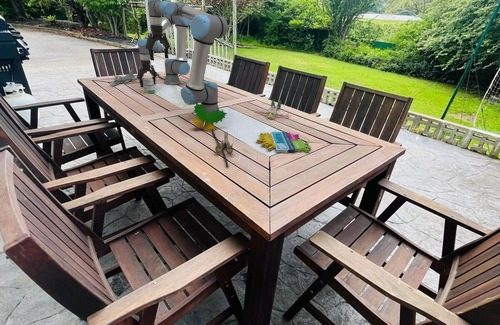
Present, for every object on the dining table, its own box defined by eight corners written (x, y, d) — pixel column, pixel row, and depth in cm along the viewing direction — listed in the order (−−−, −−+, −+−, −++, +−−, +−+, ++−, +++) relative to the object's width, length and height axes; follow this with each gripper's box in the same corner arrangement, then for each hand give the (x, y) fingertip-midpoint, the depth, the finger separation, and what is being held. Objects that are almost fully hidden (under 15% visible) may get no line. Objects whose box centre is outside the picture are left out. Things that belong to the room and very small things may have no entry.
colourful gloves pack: (313, 150, 142) (258, 149, 139) (312, 153, 143) (258, 152, 140) (301, 132, 164) (254, 130, 161) (301, 134, 165) (254, 133, 162)
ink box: (155, 92, 228) (153, 78, 222) (151, 93, 224) (149, 79, 218) (148, 91, 231) (146, 77, 226) (143, 92, 228) (141, 78, 222)
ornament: (218, 133, 171) (224, 110, 169) (221, 134, 163) (227, 111, 161) (186, 125, 162) (192, 101, 160) (189, 126, 155) (195, 101, 153)
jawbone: (234, 135, 144) (233, 125, 135) (233, 160, 138) (232, 151, 129) (217, 135, 144) (216, 125, 135) (216, 160, 138) (214, 150, 129)
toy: (294, 101, 206) (290, 112, 180) (293, 110, 209) (289, 122, 183) (259, 97, 210) (251, 107, 185) (259, 106, 214) (250, 116, 188)
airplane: (106, 78, 261) (104, 68, 256) (139, 76, 275) (138, 66, 269) (108, 88, 233) (105, 77, 228) (145, 86, 246) (143, 75, 241)
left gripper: (136, 61, 203) (140, 89, 214) (160, 59, 223) (162, 84, 233) (129, 60, 206) (133, 87, 216) (153, 58, 226) (155, 83, 236)
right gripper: (165, 24, 182) (168, 57, 192) (136, 24, 162) (141, 60, 172) (173, 25, 179) (176, 58, 189) (145, 25, 159) (149, 61, 169)
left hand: (148, 86), depth 225 cm, fingers open, 13 cm apart
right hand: (159, 59), depth 181 cm, fingers open, 13 cm apart
